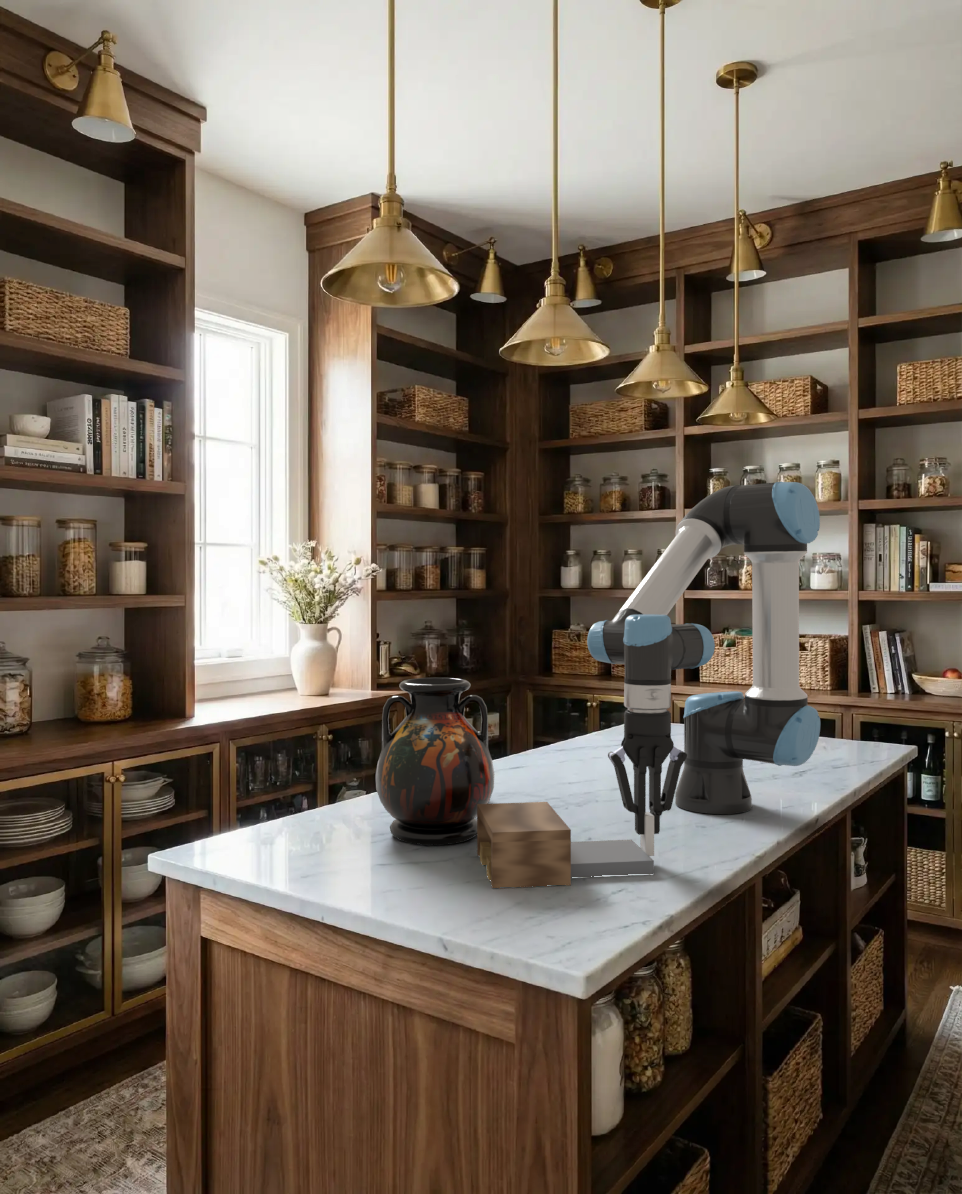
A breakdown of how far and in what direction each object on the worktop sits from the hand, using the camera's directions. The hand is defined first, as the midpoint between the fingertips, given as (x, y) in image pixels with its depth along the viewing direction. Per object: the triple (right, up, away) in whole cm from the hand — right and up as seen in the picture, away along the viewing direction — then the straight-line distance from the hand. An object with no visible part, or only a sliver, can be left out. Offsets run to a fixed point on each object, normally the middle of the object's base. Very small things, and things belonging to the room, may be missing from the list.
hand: (647, 853), depth 156 cm
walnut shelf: (-21, -2, -3) cm, 21 cm away
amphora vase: (-35, -2, +18) cm, 40 cm away
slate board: (-9, -3, -1) cm, 9 cm away
